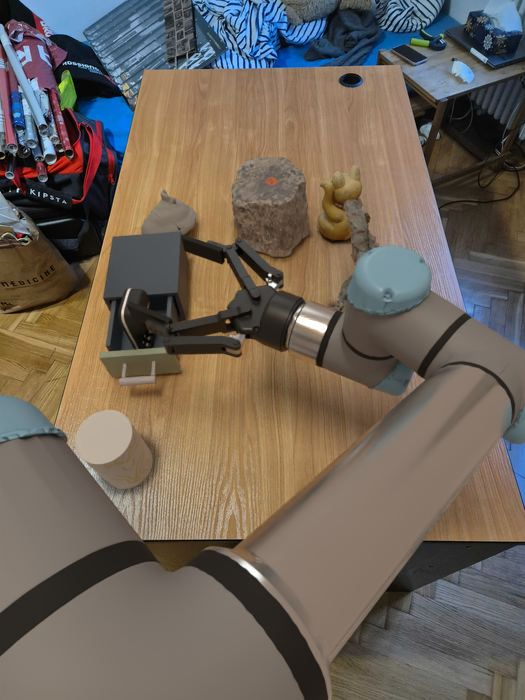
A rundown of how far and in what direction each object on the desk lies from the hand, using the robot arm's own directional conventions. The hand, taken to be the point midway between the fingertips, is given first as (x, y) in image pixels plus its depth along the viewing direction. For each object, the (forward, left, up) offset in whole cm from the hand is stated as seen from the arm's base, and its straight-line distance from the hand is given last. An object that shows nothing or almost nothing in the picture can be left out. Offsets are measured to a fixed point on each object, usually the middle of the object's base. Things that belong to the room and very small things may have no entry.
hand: (158, 274), depth 66 cm
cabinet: (-8, +17, -24) cm, 31 cm away
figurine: (+33, +6, -24) cm, 42 cm away
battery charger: (-7, +5, -22) cm, 24 cm away
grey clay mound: (-5, +34, -24) cm, 42 cm away
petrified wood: (+17, +33, -24) cm, 45 cm away
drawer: (-8, +2, -23) cm, 25 cm away
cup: (-10, -19, -24) cm, 32 cm away
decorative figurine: (+32, +30, -24) cm, 51 cm away
